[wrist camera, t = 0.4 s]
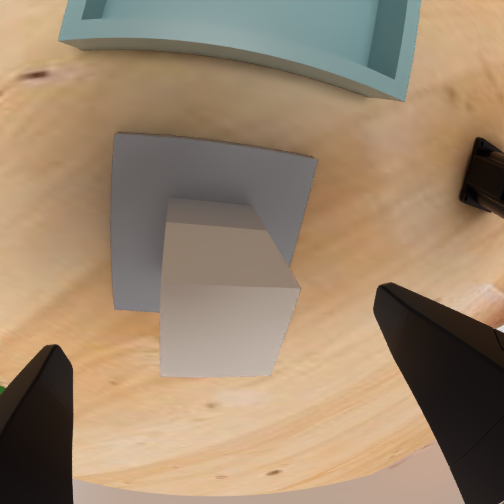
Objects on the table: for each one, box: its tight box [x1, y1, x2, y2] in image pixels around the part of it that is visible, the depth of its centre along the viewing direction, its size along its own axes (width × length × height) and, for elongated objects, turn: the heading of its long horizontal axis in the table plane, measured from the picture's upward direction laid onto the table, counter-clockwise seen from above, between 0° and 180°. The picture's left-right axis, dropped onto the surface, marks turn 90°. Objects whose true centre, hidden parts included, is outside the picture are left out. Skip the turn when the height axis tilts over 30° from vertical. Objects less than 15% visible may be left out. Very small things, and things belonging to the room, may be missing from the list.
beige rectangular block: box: [160, 198, 301, 378], centre depth 15 cm, size 5×5×9 cm
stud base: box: [110, 132, 318, 312], centre depth 18 cm, size 12×12×4 cm
